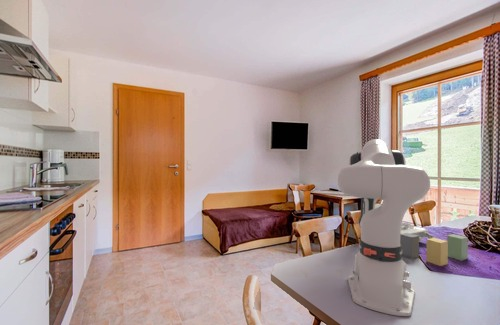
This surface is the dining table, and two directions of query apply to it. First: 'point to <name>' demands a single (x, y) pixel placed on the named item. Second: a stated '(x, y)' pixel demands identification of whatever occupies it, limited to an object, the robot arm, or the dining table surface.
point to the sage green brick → (457, 247)
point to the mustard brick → (437, 251)
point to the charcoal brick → (409, 245)
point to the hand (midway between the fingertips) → (427, 238)
